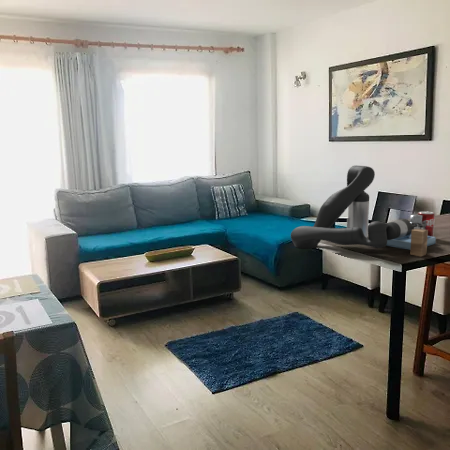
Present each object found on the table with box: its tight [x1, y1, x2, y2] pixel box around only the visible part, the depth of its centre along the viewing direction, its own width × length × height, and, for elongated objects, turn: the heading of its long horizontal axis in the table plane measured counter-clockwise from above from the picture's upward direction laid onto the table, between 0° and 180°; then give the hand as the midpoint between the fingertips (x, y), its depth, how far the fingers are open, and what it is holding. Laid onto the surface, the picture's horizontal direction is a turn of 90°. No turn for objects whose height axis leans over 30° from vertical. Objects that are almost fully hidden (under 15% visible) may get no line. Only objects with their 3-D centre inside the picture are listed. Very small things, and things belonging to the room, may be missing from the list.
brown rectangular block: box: [409, 229, 428, 257], centre depth 201 cm, size 4×4×10 cm
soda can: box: [417, 210, 436, 237], centre depth 230 cm, size 7×7×12 cm
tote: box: [385, 235, 437, 251], centre depth 219 cm, size 18×14×3 cm
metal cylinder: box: [409, 214, 422, 238], centre depth 220 cm, size 5×5×10 cm
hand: (418, 223), depth 222 cm, fingers closed on metal cylinder, 5 cm apart
